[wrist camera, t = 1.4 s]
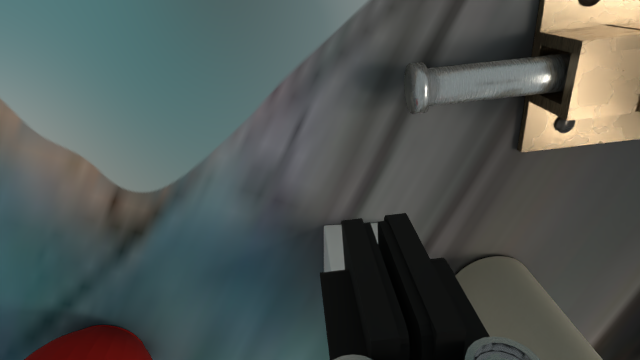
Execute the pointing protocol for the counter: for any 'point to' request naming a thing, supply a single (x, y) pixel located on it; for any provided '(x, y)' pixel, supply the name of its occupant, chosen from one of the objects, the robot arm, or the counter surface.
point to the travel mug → (521, 309)
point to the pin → (483, 80)
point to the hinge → (586, 75)
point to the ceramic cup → (94, 346)
